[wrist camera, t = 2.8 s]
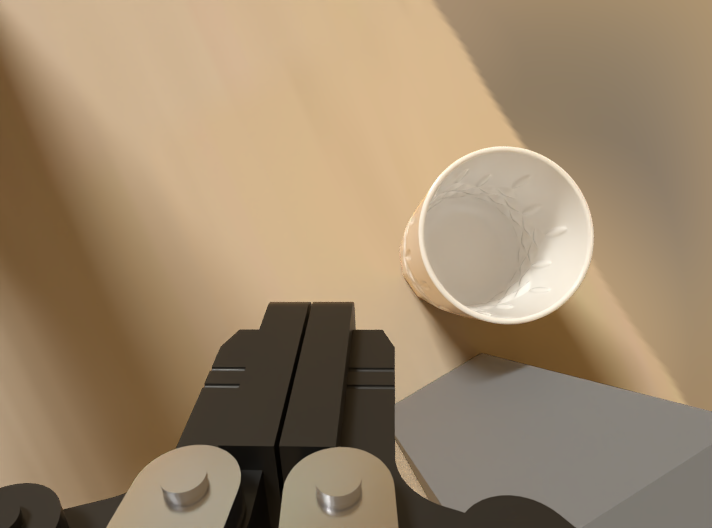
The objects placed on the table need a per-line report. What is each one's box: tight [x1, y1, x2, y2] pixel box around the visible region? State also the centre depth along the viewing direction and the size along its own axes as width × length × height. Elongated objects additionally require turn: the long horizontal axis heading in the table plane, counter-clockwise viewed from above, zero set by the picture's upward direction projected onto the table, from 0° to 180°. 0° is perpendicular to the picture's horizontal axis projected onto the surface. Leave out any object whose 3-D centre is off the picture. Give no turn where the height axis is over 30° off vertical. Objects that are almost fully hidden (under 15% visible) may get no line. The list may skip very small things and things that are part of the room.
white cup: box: [399, 146, 594, 324], centre depth 31 cm, size 8×8×10 cm
